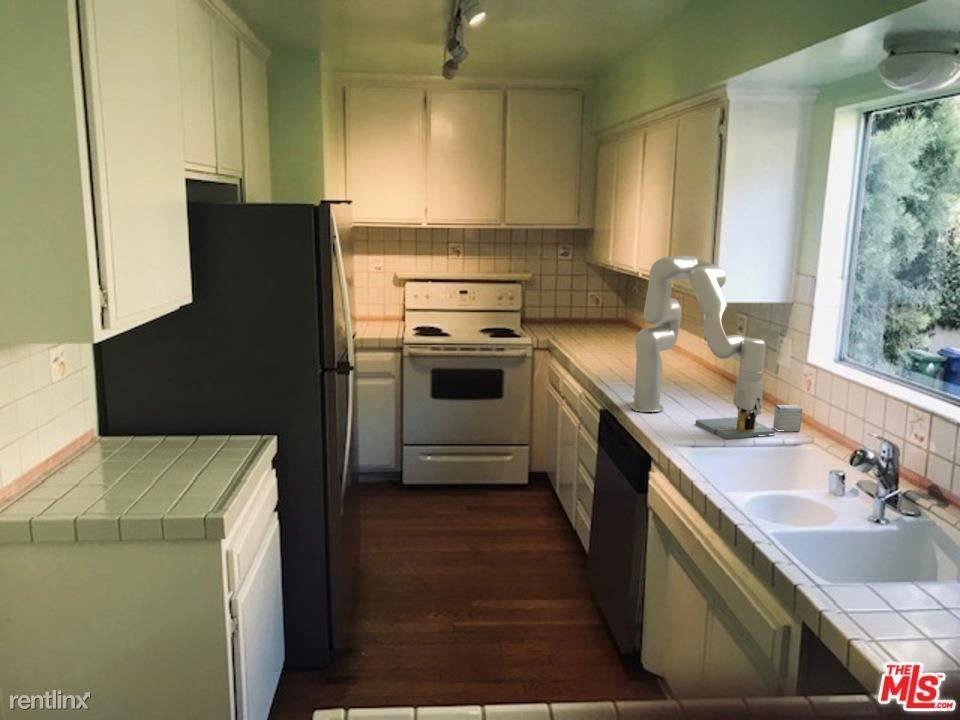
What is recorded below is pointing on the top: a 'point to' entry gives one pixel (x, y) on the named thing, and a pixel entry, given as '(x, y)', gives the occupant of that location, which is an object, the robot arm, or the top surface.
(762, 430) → the grey-blue slab
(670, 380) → the top surface
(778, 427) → the medicine box
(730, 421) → the board
